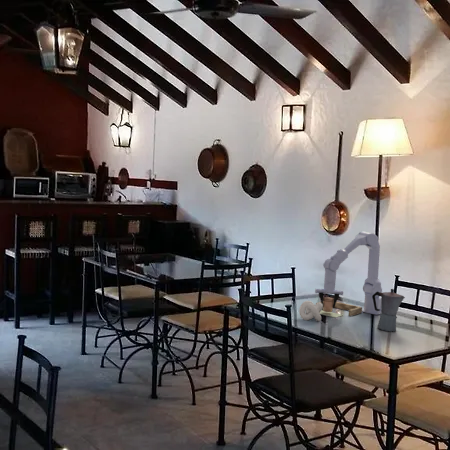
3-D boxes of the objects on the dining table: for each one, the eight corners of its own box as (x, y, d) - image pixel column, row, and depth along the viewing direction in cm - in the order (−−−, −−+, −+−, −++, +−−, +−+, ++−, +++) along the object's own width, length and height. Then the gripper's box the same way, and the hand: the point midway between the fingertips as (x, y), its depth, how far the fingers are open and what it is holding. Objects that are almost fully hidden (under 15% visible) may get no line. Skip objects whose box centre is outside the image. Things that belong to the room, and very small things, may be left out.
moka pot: (404, 333, 295) (408, 291, 293) (372, 331, 295) (375, 289, 293) (399, 327, 304) (402, 287, 302) (367, 325, 305) (371, 285, 303)
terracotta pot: (334, 310, 327) (335, 298, 326) (331, 312, 322) (332, 300, 321) (323, 308, 329) (324, 296, 328) (321, 311, 324) (322, 299, 323)
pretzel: (328, 323, 306) (329, 305, 305) (305, 323, 303) (307, 305, 302) (318, 317, 317) (319, 300, 316) (296, 317, 313) (297, 300, 312)
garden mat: (343, 315, 324) (343, 314, 324) (335, 317, 318) (335, 317, 318) (319, 310, 333) (319, 309, 333) (312, 312, 326) (312, 311, 326)
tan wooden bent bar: (361, 312, 332) (362, 307, 332) (350, 316, 323) (351, 310, 322) (327, 305, 346) (327, 300, 345) (315, 308, 336) (315, 303, 336)
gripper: (343, 281, 326) (341, 307, 328) (315, 279, 328) (314, 304, 330) (344, 284, 319) (342, 309, 321) (315, 281, 322) (314, 307, 323)
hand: (328, 307), depth 325 cm, fingers closed on terracotta pot, 5 cm apart
